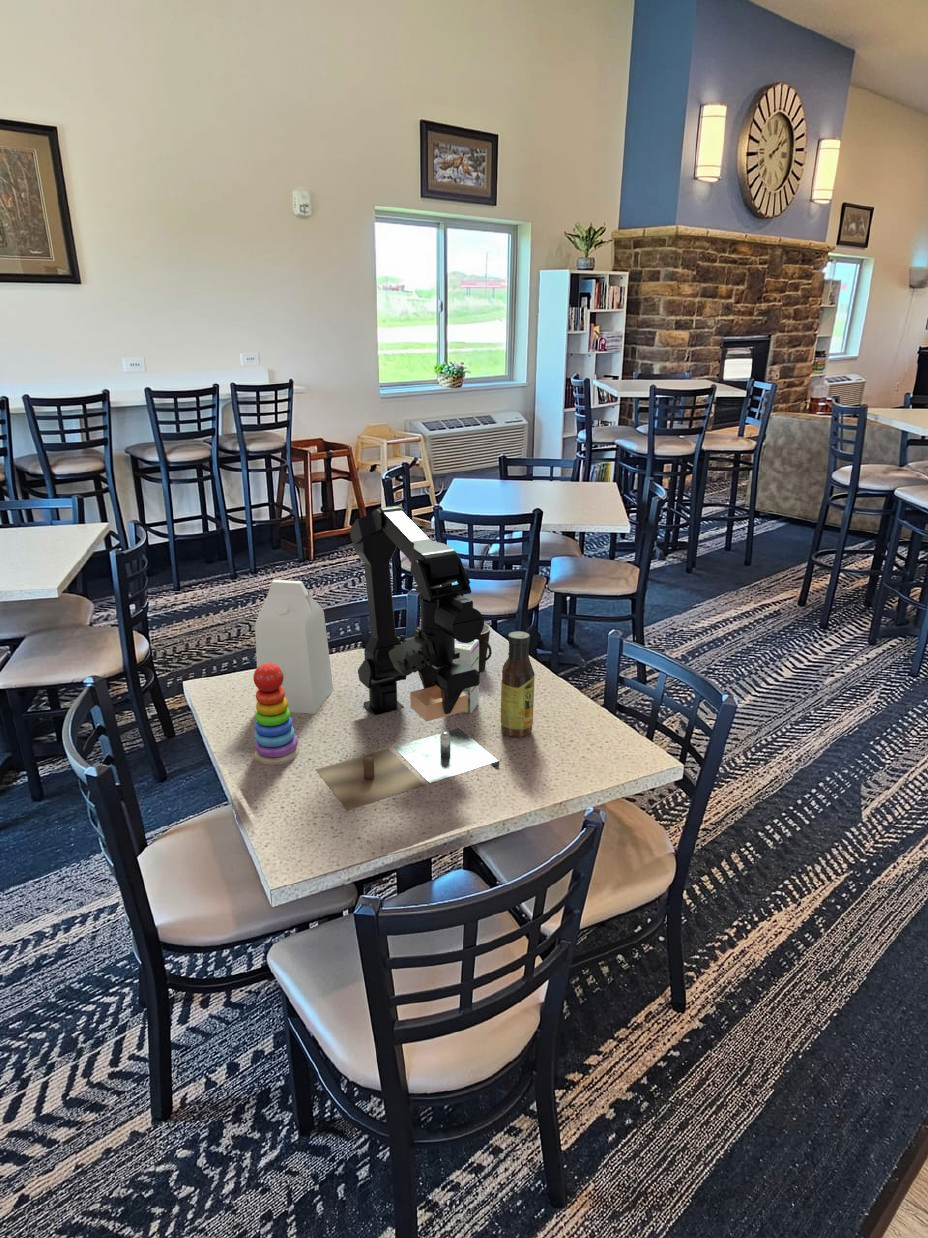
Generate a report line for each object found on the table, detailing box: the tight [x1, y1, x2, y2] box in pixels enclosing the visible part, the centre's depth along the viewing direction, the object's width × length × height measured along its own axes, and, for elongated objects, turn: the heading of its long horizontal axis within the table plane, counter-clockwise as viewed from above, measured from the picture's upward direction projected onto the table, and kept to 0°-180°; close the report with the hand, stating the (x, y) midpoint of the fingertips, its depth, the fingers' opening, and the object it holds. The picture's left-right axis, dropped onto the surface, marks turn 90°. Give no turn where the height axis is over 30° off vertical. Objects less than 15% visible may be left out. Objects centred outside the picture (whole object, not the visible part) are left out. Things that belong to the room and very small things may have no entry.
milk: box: [254, 579, 334, 715], centre depth 155 cm, size 12×12×26 cm
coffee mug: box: [475, 622, 493, 674], centre depth 171 cm, size 12×9×10 cm
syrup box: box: [453, 639, 480, 715], centre depth 153 cm, size 6×6×14 cm
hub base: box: [393, 727, 500, 784], centre depth 136 cm, size 14×14×5 cm
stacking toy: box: [252, 663, 301, 766], centre depth 134 cm, size 8×8×19 cm
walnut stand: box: [315, 748, 425, 811], centre depth 129 cm, size 14×14×4 cm
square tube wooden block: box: [409, 686, 467, 722], centre depth 132 cm, size 6×8×3 cm
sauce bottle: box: [500, 631, 535, 738], centre depth 143 cm, size 7×6×20 cm
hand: (438, 706), depth 132 cm, fingers closed on square tube wooden block, 6 cm apart
